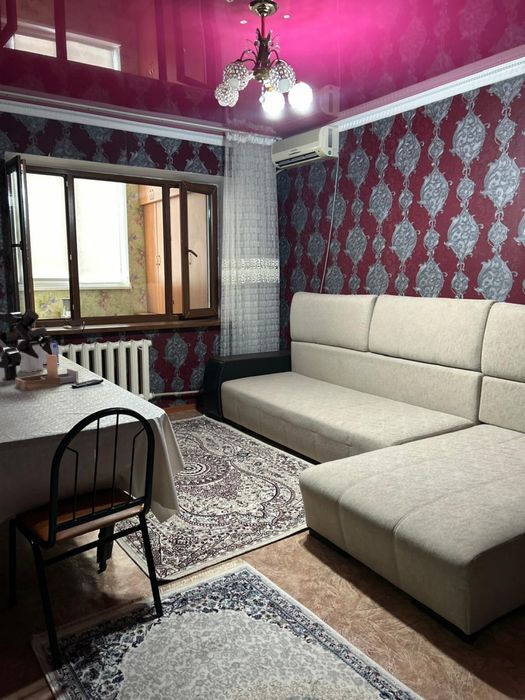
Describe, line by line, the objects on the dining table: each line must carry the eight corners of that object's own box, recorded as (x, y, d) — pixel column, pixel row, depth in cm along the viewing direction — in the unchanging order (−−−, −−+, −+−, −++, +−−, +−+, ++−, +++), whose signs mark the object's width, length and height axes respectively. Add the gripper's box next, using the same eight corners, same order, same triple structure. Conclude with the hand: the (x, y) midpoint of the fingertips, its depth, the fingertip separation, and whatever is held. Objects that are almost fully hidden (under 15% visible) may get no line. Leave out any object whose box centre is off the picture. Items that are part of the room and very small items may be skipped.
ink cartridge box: (59, 363, 317) (58, 339, 314) (54, 365, 311) (52, 340, 309) (44, 363, 319) (42, 338, 316) (38, 364, 313) (37, 339, 311)
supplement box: (36, 367, 305) (34, 338, 302) (44, 370, 299) (42, 339, 296) (19, 370, 298) (17, 339, 295) (26, 372, 292) (24, 341, 289)
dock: (15, 386, 261) (14, 378, 260) (49, 381, 272) (49, 373, 272) (25, 390, 252) (25, 382, 252) (60, 385, 264) (60, 377, 263)
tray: (39, 382, 268) (39, 372, 267) (69, 377, 278) (68, 368, 277) (48, 385, 261) (47, 375, 260) (78, 380, 271) (77, 370, 270)
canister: (48, 380, 269) (47, 354, 267) (58, 379, 270) (57, 354, 268) (46, 381, 264) (45, 356, 263) (57, 381, 265) (55, 356, 264)
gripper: (19, 323, 257) (39, 348, 255) (48, 320, 274) (67, 343, 272) (8, 339, 261) (27, 363, 259) (37, 334, 279) (55, 357, 276)
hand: (45, 356), depth 267 cm, fingers open, 9 cm apart
